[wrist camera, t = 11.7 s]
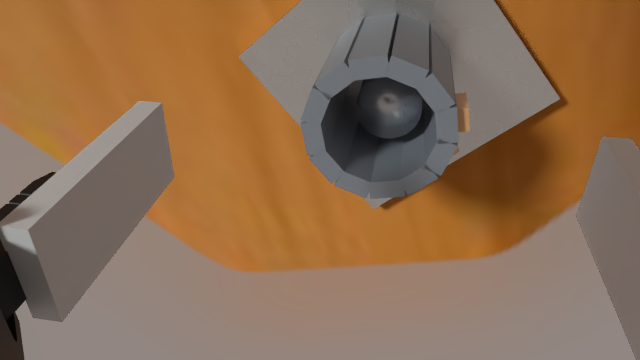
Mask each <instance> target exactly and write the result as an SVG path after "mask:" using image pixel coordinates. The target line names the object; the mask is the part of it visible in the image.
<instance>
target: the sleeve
mask: <svg viewBox="0 0 640 360" xmlns="http://www.w3.org/2000/svg"><path fill="white" fill-rule="evenodd" d="M380 77H388V78H391V79H393V80H396V81H398V82H401V83H403V84H405V85H408V86H410V87H413V88H415V89H417V90H418V92H419V93H420V94H421V96H422V97H423V98H424V100H425V101H426V102H425V104H424V105H422V113H421V117H420V119H419V122H418V123H417V125H416V126H415V127H414V128H413V129H412V130H411V131H410V132H409V133H407V134H405V135H403V136H401V137H397V138H381V137H378V136H375V135H373V134H371V133H369V132H368V131H367V130H366V129H365V128H364V127H363V126H362V125H361V123H360V122H359V120H358V117H357V114H356V104H355V103H354V101H353V100H352V99H351V98H350V97H349V95H348V94H347V92H346V87H347V86H348V85H349V84H351V83H352V82H353V81H355V80H364V79H372V78H380ZM301 120H302V121H301V123H300V124H301V129H302V133H303V138H304V142H305V147H306V151H307V155H310V158H309V159H310V160H311V161H312V162H313V164H314V165H315V166H316V167H317V168H318V169H319V170H320V171H321V173H322V174H323V175H324V176H325V177H326V178H327V179H328V180H329V181H330V183H331V184H332V183H333V182H335V181H336V183H335V186H336V187H339V188H342V189H344V190H347V191H349V192H352V193H354V194H357V195H359V196H362V197H364V198H367V196H368V194H370V199H378V198H394V197H405V192H406V193H407V194H408V196H409V195H411V194H413V193H414V192H416V191H418V190H419V189H421V188H423V187H425V186H426V185H428V184H430V183H431V182H433V181H435V180H437V179H438V175H440V176H441V175H442V173H443V172H444V170H445V168H446V166H447V165H448V163H449V161H450V159H451V158H452V156H453V154H454V152H455V151H456V149H457V147H458V143H459V135H458V132H467V131H470V122H469V106H468V100H467V95H466V93H457V94H455V89H454V80H453V72H452V64H451V56H450V54H449V51H448V49H447V48H446V47H445V45H444V44H443V42H442V41H441V40H440V38H439V37H438V36H437V34H436V33H435V32H434V30H433V29H432V27H431V28H430V29H429V25H427V24H424V23H422V22H419V21H417V20H415V19H412V18H410V17H407V16H405V15H402V14H400V15H399V17H398V19H397V14H396V13H394V14H387V15H381V16H374V17H367V18H365V20H364V21H363V19H362V20H361V21H359V22H358V23H357V24H356V25H355V26H353V27H352V28H351V29H350V30H348V31H347V32H346V33H345V34H343V35H342V36H341V37H340V38H339V39H338V41H337V42H336V44H335V46H334V47H333V49H332V51H331V53H330V55H329V57H328V59H327V61H326V62H325V64H324V66H323V68H322V70H321V72H320V74H319V76H318V78H317V79H316V81H315V83H314V85H313V87H312V89H311V92H310V95H309V98H308V100H307V103H306V106H305V109H304V111H303V114H302V117H301Z"/></svg>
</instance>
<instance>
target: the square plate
mask: <svg viewBox="0 0 640 360" xmlns="http://www.w3.org/2000/svg"><path fill="white" fill-rule="evenodd" d="M394 13H396V14H397V19H398V17H399V15H400V14H402V15H405V16H407V17H410V18H412V19H415V20H417V21H419V22H422V23H424V24H427V25H429V29H430V28H431V27H432V29H433V30H434V32H435V33H436V34H437V36H438V37H439V38H440V40H441V41H442V42H443V44H444V45H445V47H446V48H447V49H448V51H449V54H450V56H451V64H452V72H453V80H454V89H455V94H457V93H466V95H467V100H468V106H469V122H470V131H467V132H458V135H459V143H458V147H457V149H456V151H455V152H454V154H453V156H452V158H451V159H450V161H449V163H448V165H449V164H451V163H453V162H454V161H456V160H458V159H459V158H461V157H463V156H464V155H466V154H468V153H470V152H471V151H473V150H475V149H476V148H478V147H480V146H481V145H483V144H485V143H486V142H488V141H490V140H492V139H493V138H495V137H497V136H498V135H500V134H502V133H503V132H505V131H507V130H509V129H510V128H512V127H514V126H515V125H517V124H519V123H520V122H522V121H524V120H525V119H527V118H529V117H531V116H532V115H534V114H536V113H537V112H539V111H541V110H542V109H544V108H546V107H547V106H549V105H551V104H553V103H554V102H556V101H558V100H559V99H560V98H559V96H558V94H557V92H556V91H555V89H554V88H553V86H552V85H551V83H550V82H549V81H548V79H547V78H546V76H545V75H544V73H543V72H542V70H541V69H540V67H539V66H538V64H537V63H536V61H535V60H534V58H533V57H532V55H531V54H530V52H529V51H528V49H527V48H526V46H525V45H524V43H523V42H522V41H521V39H520V38H519V36H518V35H517V33H516V32H515V30H514V29H513V27H512V26H511V24H510V23H509V21H508V20H507V18H506V17H505V15H504V14H503V12H502V11H501V9H500V8H499V6H498V5H497V3H496V2H495V0H301V1H300V2H299V3H298V4H297V5H296V6H295V7H293V8H292V9H291V10H290V11H289V12H288V13H287V14H286V15H284V16H283V17H282V18H281V19H280V20H279V21H278V22H277V23H275V24H274V25H273V26H272V27H271V28H270V29H269V30H268V31H266V32H265V33H264V34H263V35H262V36H261V37H260V38H259V39H257V40H256V41H255V42H254V43H253V44H252V45H251V46H250V47H248V48H247V49H246V50H245V51H244V52H243V53H242V54H241V55H240V56H239V58H240V59H241V60H242V62H243V63H244V64H245V65H246V66H247V67H248V68H249V69H250V71H251V72H252V73H253V74H254V75H255V76H256V77H257V78H258V80H259V81H260V82H261V83H262V84H263V85H264V86H265V87H266V89H267V90H268V91H269V92H270V93H271V94H272V95H273V96H274V98H275V99H276V100H277V101H278V102H279V103H280V104H281V106H282V107H283V108H284V109H285V110H286V111H287V112H288V113H289V115H290V116H291V117H292V118H293V119H294V120H295V121H296V122H297V124H298V125H299V126H300V127H301V124H300V123H301V121H302V120H301V117H302V114H303V111H304V109H305V106H306V103H307V100H308V98H309V95H310V92H311V89H312V87H313V85H314V83H315V81H316V79H317V78H318V76H319V74H320V72H321V70H322V68H323V66H324V64H325V62H326V61H327V59H328V57H329V55H330V53H331V51H332V49H333V47H334V46H335V44H336V42H337V41H338V39H339V38H340V37H341V36H342V35H343V34H345V33H346V32H347V31H348V30H350V29H351V28H352V27H353V26H355V25H356V24H357V23H358V22H359V21H361V20H362V19H363V21H364V20H365V18H367V17H374V16H381V15H387V14H394ZM346 92H347V94H348V95H349V97H350V98H351V99H352V100H353V101H354V103H355V104H356V114H357V117H358V120H359V122H360V123H361V125H362V126H363V127H364V128H365V129H366V130H367V131H368V132H369V133H371V134H373V135H375V136H378V137H381V138H397V137H401V136H403V135H405V134H407V133H409V132H410V131H411V130H412V129H413V128H414V127H415V126H416V125H417V123H418V122H419V119H420V117H421V113H422V105H424V104H425V102H426V101H425V100H424V98H423V97H422V96H421V94H420V93H419V92H418V90H417V89H415V88H413V87H410V86H408V85H405V84H403V83H401V82H398V81H396V80H393V79H391V78H388V77H380V78H372V79H364V80H355V81H353V82H352V83H351V84H349V85H348V86H347V87H346ZM448 165H447V166H448ZM363 198H364V197H363ZM364 199H365V200H366V201H367V203H368V204H369V205H370V206H371V207H372V208H373V209H375V208H376V207H378V206H380V205H381V204H383V203H385V202H387V201H388V200H390V199H392V198H378V199H370V194H368V196H367V198H364Z"/></svg>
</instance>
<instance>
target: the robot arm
mask: <svg viewBox="0 0 640 360" xmlns="http://www.w3.org/2000/svg"><path fill="white" fill-rule="evenodd" d="M173 178H174V171H173V166H172V160H171V154H170V148H169V142H168V136H167V131H166V125H165V119H164V113H163V107H162V103H159V102H146V101H138V102H137V103H136V104H135V105H134V106H133V107H132V108H130V109H129V110H128V111H127V112H126V113H125V114H123V115H122V116H121V117H120V118H119V119H118V120H117V121H115V122H114V123H113V124H112V125H111V126H110V127H108V128H107V129H106V130H105V131H104V132H103V133H102V134H100V135H99V136H98V137H97V138H96V139H95V140H94V141H92V142H91V143H90V144H89V145H88V146H87V147H85V148H84V149H83V150H82V151H81V152H80V153H79V154H77V155H76V156H75V157H74V158H73V159H72V160H71V161H69V162H68V163H67V164H66V165H65V166H64V167H63V168H61V169H60V170H59V171H58V172H51V173H49V174H47V175H45V176H43V177H41V178H39V179H37V180H35V181H33V182H32V183H31V184H30V185H28V186H27V187H26V188H25V189H24V190H22V191H21V192H20V195H16V196H15V197H14V198H13V199H12V200H10V201H9V204H6V205H5V206H3V207H2V208H1V209H0V360H24V353H23V345H22V338H21V330H20V324H19V320H18V318H17V315H16V313H15V311H16V310H17V309H18V308H19V307H20V306H21V304H22V303H23V302H24V301H25V300H26V302H27V304H28V307H29V309H30V312H31V314H32V316H33V318H39V319H45V320H52V321H59V322H63V320H64V319H65V318H66V316H67V315H68V314H69V313H70V311H71V310H72V309H73V307H74V306H75V305H76V303H77V302H78V301H79V300H80V298H81V297H82V296H83V294H84V293H85V292H86V290H87V289H88V288H89V287H90V285H91V284H92V283H93V282H94V280H95V279H96V278H97V276H98V275H99V274H100V272H101V271H102V270H103V269H104V267H105V266H106V265H107V263H108V262H109V261H110V259H111V258H112V257H113V256H114V254H115V253H116V252H117V250H118V249H119V248H120V247H121V245H122V244H123V242H124V241H125V240H126V239H127V237H128V236H129V235H130V234H131V232H132V231H133V230H134V228H135V227H136V226H137V225H138V223H139V222H140V221H141V219H142V218H143V217H144V215H145V214H146V213H147V212H148V210H149V209H150V208H151V206H152V205H153V204H154V203H155V201H156V200H157V199H158V197H159V196H160V195H161V193H162V192H163V191H164V190H165V188H166V187H167V186H168V184H169V183H170V182H171V180H172V179H173ZM576 217H577V219H578V222H579V224H580V226H581V229H582V231H583V234H584V236H585V238H586V241H587V243H588V246H589V248H590V250H591V253H592V255H593V258H594V260H595V262H596V265H597V267H598V269H599V272H600V274H601V277H602V279H603V281H604V284H605V286H606V288H607V290H608V293H609V296H610V298H611V301H612V303H613V305H614V308H615V310H616V312H617V315H618V317H619V319H620V322H621V324H622V327H623V329H624V332H625V334H626V336H627V339H628V341H629V344H630V346H631V348H632V351H633V353H634V355H635V358H636V360H640V150H639V148H638V147H637V146H636V144H635V143H634V141H633V140H632V139H629V138H616V137H603V136H602V139H601V142H600V145H599V148H598V151H597V154H596V157H595V160H594V163H593V166H592V169H591V172H590V175H589V178H588V181H587V184H586V187H585V190H584V193H583V196H582V199H581V202H580V205H579V208H578V212H577V215H576Z"/></svg>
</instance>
